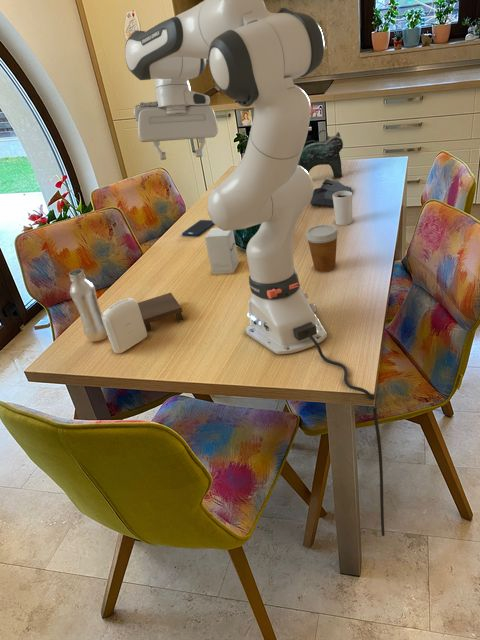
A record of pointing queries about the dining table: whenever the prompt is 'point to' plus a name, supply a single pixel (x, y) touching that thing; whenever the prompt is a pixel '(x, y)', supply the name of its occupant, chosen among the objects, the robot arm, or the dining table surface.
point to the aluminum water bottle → (87, 305)
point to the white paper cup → (343, 207)
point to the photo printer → (124, 324)
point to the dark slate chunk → (327, 193)
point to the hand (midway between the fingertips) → (181, 158)
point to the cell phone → (198, 228)
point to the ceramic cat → (323, 154)
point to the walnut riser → (159, 309)
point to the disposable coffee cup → (323, 246)
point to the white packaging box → (221, 251)
